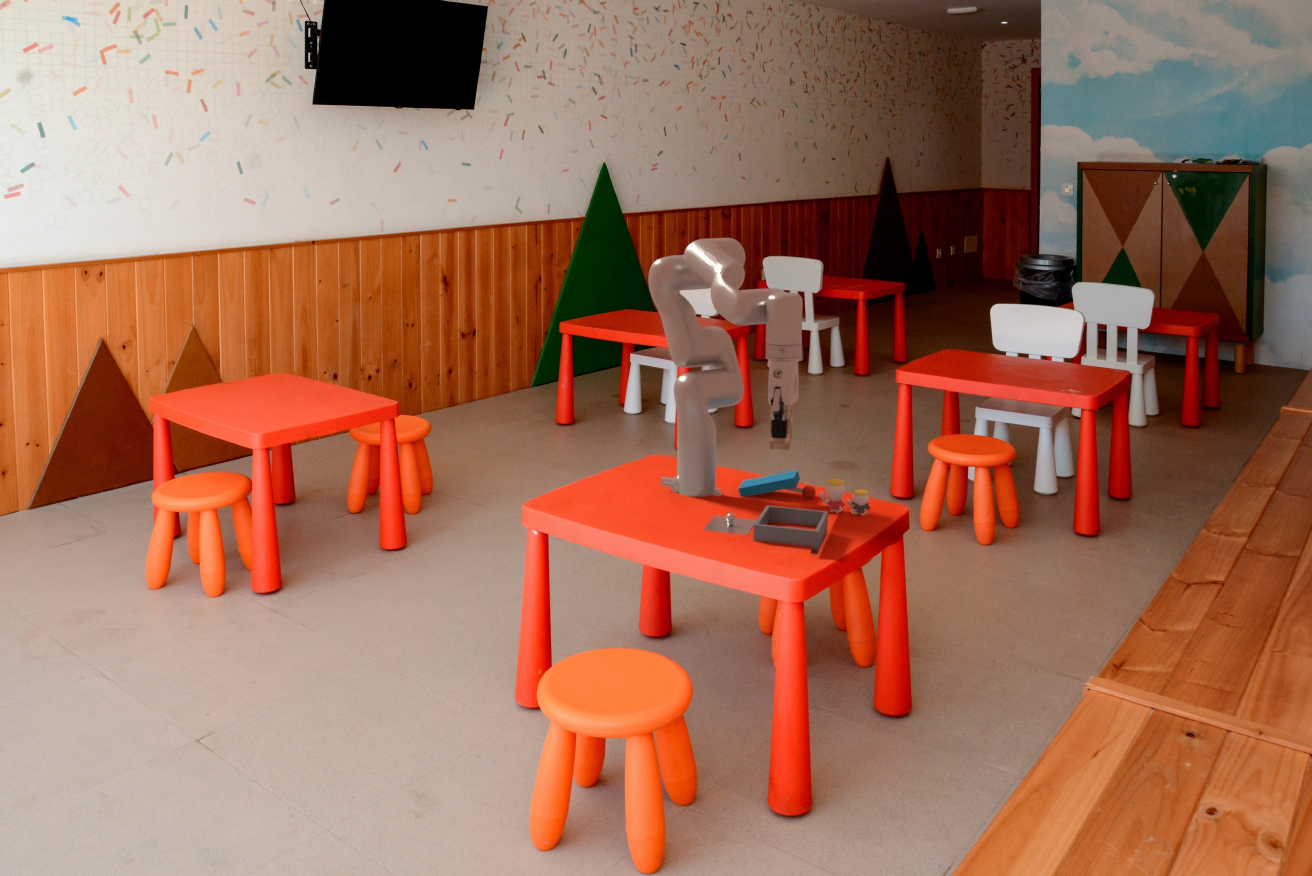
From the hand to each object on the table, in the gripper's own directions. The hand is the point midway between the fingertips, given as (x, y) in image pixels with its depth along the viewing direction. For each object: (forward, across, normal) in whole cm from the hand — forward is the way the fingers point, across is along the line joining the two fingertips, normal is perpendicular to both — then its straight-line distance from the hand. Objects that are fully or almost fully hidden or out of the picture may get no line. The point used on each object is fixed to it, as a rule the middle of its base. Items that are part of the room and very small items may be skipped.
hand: (781, 434), depth 229 cm
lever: (+24, +31, +7) cm, 40 cm away
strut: (+3, 0, 0) cm, 3 cm away
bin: (+24, 0, -3) cm, 24 cm away
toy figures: (+24, +23, -11) cm, 35 cm away
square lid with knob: (+24, +1, +11) cm, 26 cm away
